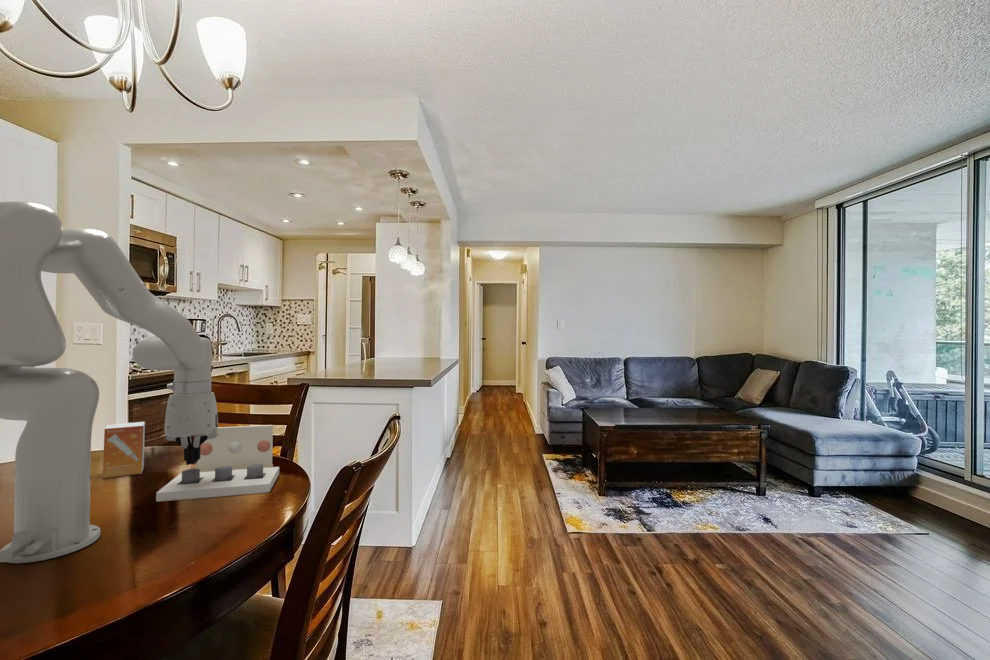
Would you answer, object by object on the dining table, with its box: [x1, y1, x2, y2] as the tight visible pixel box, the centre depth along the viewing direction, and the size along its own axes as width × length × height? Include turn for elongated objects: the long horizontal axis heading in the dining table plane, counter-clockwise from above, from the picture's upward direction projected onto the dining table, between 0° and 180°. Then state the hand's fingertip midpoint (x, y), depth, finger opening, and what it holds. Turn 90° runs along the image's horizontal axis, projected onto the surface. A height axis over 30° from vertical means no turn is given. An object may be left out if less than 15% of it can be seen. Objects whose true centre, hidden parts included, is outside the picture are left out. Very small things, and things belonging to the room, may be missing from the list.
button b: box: [215, 466, 232, 482], centre depth 109 cm, size 4×4×3 cm
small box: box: [102, 421, 146, 479], centre depth 118 cm, size 8×6×13 cm
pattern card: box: [195, 424, 274, 472], centre depth 120 cm, size 4×18×12 cm, turn 107°
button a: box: [181, 467, 200, 484], centre depth 107 cm, size 4×4×3 cm
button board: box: [155, 466, 280, 502], centre depth 109 cm, size 14×23×2 cm, turn 107°
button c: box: [247, 464, 263, 479], centre depth 111 cm, size 4×4×3 cm
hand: (192, 462), depth 107 cm, fingers closed
